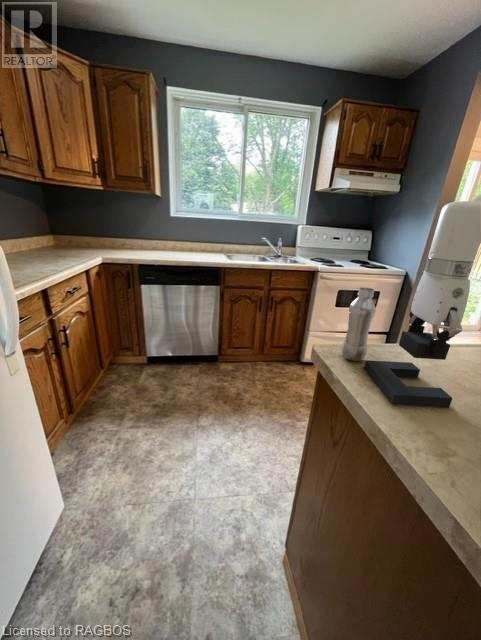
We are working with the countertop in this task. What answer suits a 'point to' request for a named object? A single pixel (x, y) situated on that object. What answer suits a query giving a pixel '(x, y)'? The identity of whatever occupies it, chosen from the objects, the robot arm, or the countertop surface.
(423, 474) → the countertop surface
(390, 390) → the notched tile
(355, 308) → the plastic bottle
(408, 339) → the black pad
